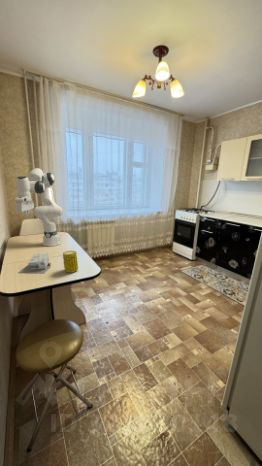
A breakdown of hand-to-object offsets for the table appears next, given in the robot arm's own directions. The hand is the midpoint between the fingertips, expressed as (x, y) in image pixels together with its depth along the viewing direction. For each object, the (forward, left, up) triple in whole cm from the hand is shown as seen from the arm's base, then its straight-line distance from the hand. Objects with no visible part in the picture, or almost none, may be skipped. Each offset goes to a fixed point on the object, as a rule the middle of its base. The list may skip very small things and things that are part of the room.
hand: (26, 216), depth 152 cm
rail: (+15, +14, -35) cm, 40 cm away
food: (+22, +40, -35) cm, 57 cm away
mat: (+22, +14, -35) cm, 44 cm away
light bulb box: (+13, +15, -29) cm, 35 cm away
